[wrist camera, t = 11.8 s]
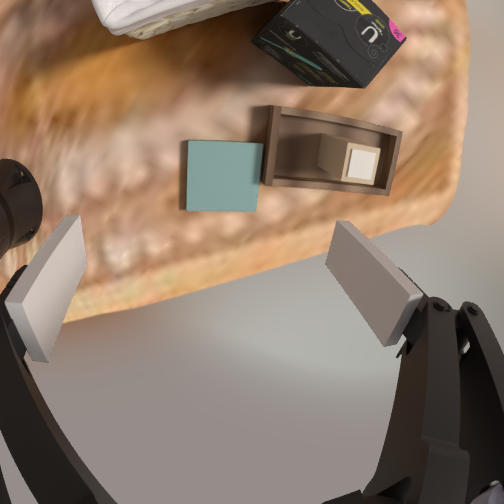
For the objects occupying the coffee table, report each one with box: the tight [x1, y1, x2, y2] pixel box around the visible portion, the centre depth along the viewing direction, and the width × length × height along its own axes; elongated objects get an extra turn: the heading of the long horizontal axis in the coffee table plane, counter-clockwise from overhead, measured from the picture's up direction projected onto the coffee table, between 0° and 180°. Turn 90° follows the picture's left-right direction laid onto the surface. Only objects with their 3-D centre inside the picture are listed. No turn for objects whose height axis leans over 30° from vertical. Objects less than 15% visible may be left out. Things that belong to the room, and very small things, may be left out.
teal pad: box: [187, 140, 263, 212], centre depth 39 cm, size 10×10×1 cm
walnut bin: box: [261, 105, 402, 196], centre depth 40 cm, size 21×11×2 cm, turn 84°
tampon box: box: [252, 0, 407, 89], centre depth 25 cm, size 11×9×15 cm
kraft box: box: [317, 133, 381, 185], centre depth 37 cm, size 5×5×8 cm
